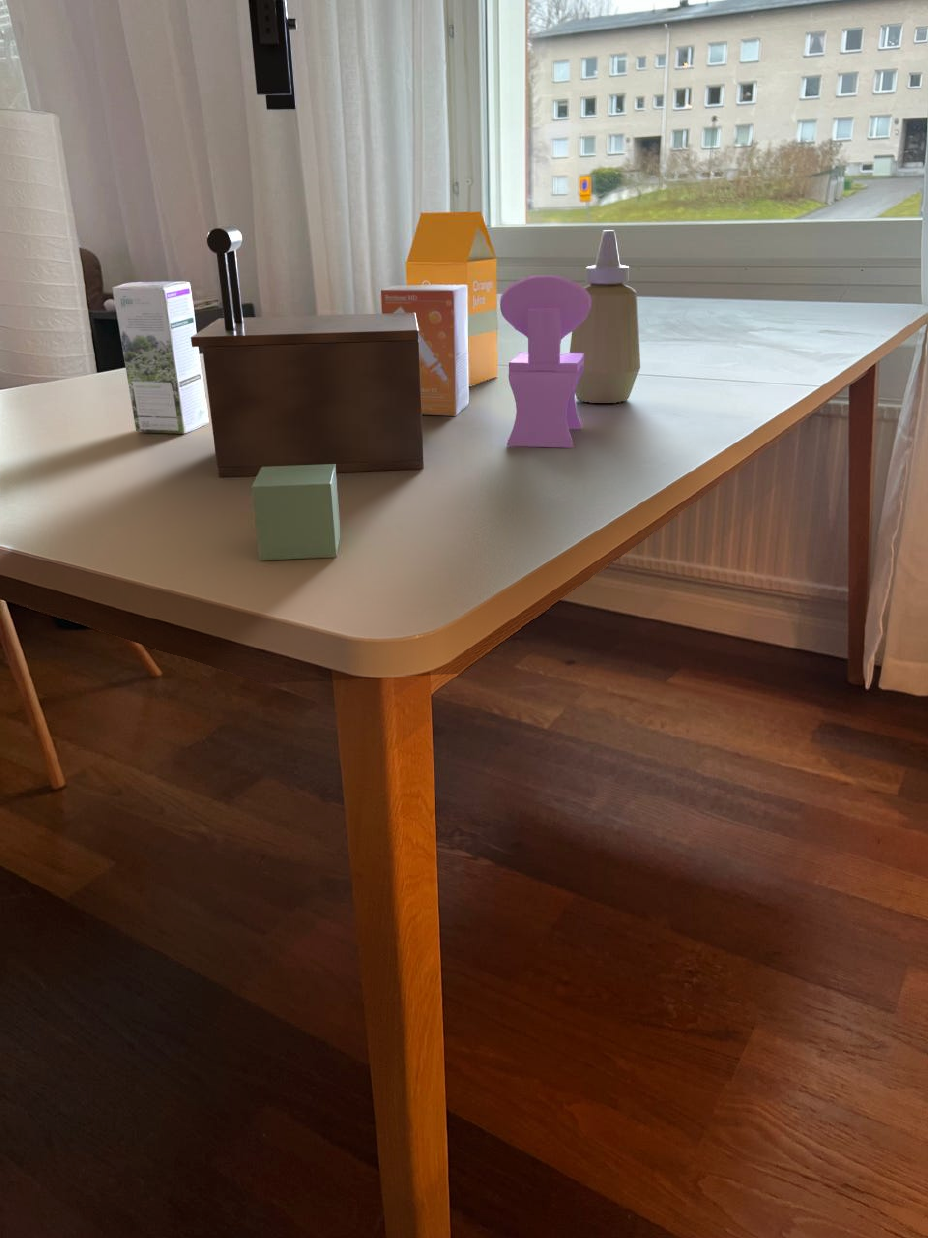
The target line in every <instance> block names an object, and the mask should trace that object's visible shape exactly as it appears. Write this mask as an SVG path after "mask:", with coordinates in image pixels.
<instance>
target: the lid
mask: <svg viewBox="0 0 928 1238" xmlns="http://www.w3.org/2000/svg"><path fill="white" fill-rule="evenodd" d="M242 243H243V237H242V234H241V232H240V231H239V230H238V229H237V228H235V227H234V226H223V227H214V228H213V229H211V230H210V231H208V233H207V236H206V245H207V248H208V249H209V250H210V251H211V252H212V253H214V254H216V262H217V270H218V278H219V279H218V280H219V288H220V295H221V304H222V313H223V318H218V319H216V320H214V321H213V322H211V323H210V324H208V325H206V327H204V328H202V329H201V330H200V331H198V332H197V334H195V335H193V336H192V337H191V343H192V347H198V348H203V347H212V346H244V345H276V344H308V343H340V342H372V341H404V340H419V334H418V326H417V320H416V315H415V313H385V314H382V313H355V314H352V313H351V314H324V315H322V314H320V315H289V316H288V315H287V316H284V315H283V316H254V317H252V316H251V317H243V316H244V315H243V308H242V307H243V306H242V298H241V289H240V279H239V271H238V261H237V252H236V251H237V250H238V249H240V247H241V246H242Z"/></svg>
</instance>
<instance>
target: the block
mask: <svg viewBox="0 0 928 1238" xmlns="http://www.w3.org/2000/svg"><path fill="white" fill-rule="evenodd" d="M337 481H338V480H337V473H336V467H335V464H323V465H297V466H270V467H261V469H260V471H259V473H258V475H257V476H255V479H254V481H253V484H252V485H251V494H252V495H251V496H252V501H253V502H252V504H253V513H254V521H255V531H256V538H257V548H258V554H259V555H258V557H259V561H261V562H262V561H263V562H265V561H286V560H287V561H288V560H311V559H333V558H337V557H338V552H339V545H340V539H341V534H342V532H341V522H340V521H341V519H340V507H339V506H340V505H339V493H338V482H337Z"/></svg>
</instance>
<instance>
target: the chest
mask: <svg viewBox="0 0 928 1238" xmlns="http://www.w3.org/2000/svg"><path fill="white" fill-rule="evenodd" d="M201 350H202V359H203V365H204V373H205V381H206V391H207V397H208V407H209V413H210V420H211V428H212V430H211V431H212V437H213V445H214V452H215V461H216V468H217V474H218V477H219V478H231V477H233V478H234V477H257V475H258V473H259V471H260V469H261V467H270V466H297V465H323V464H335V467H336V474H337V473H359V472H360V473H361V472H364V473H365V472H388V471H390V472H391V471H413V470H424V469H425V468H424V467H425V465H424V461H425V460H424V439H423V438H424V437H423V414H422V410H421V385H420V360H419V340H404V341H372V342H340V343H308V344H276V345H244V346H212V347H201Z"/></svg>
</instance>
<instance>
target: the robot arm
mask: <svg viewBox="0 0 928 1238" xmlns="http://www.w3.org/2000/svg"><path fill="white" fill-rule="evenodd" d="M247 2H248V10H249V13H248V14H249V23H250V33H251V44H252V45H251V46H252V53H253V64H254V65H253V66H254V67H253V68H254V75H255V87H256V95H258V96H259V95H260V96H263V95H264V96H265V108H266V110H267V111H296V110H297V105H296V92H295V91H296V90H295V82H294V80H295V78H294V67H293V66H294V65H293V55H292V42H291V41H292V39H291V31H297V20H296V18H290V14H289V13H288V8H287V7H288V5H287V0H248V1H247Z"/></svg>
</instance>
